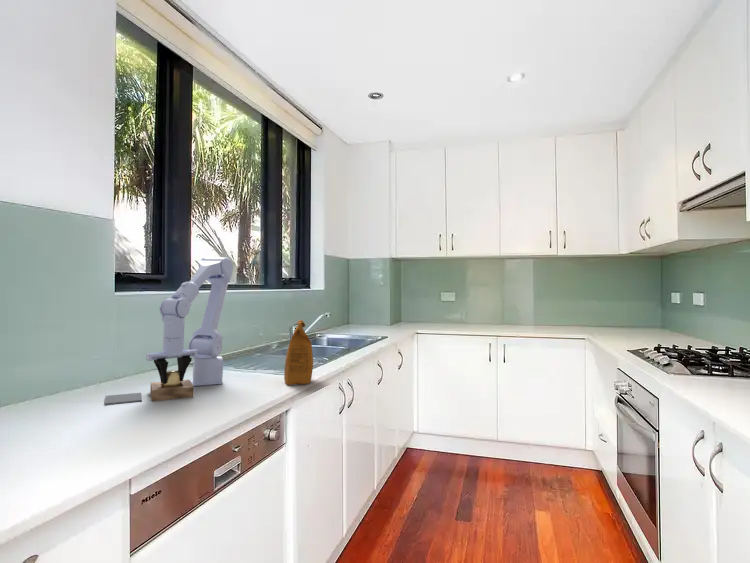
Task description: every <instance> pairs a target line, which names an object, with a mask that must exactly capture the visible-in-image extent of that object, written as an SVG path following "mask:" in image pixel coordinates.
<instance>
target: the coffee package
mask: <svg viewBox="0 0 750 563" xmlns="http://www.w3.org/2000/svg"><path fill="white" fill-rule="evenodd" d="M296 324H297V326H296V328H295V330H294V332H293V334H292V336H291V338H290V340H289V341H290V342H289V344H288V347H287V350H286V355H285V362H284V376H283V378H284V379H283V380H284V383H285V384H286V386H294V385H293V384H297V385H306V384H311V382H312V376H313V370H314V369H313V368H314V356H313V354H314V353H313V345H312V341H311V340H310V338H309V336H308V335H307V333H306V332H305V330H304V328H305V327H306V324H305V322H304V321H303V319H300V320H298V321H296Z"/></svg>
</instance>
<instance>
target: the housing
mask: <svg viewBox="0 0 750 563" xmlns="http://www.w3.org/2000/svg"><path fill="white" fill-rule="evenodd" d="M190 380H191V379H183V381H180V386H179V387H167V388H164V384H163V383H161V381H154V382H150V392H149V393H150V399H151V402H158V401H168V400H178V399H188V398H194V392H195V391H194V390H195V389H194V388H195V386H193V385H192V383H191V382H190Z"/></svg>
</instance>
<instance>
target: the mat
mask: <svg viewBox="0 0 750 563" xmlns="http://www.w3.org/2000/svg"><path fill="white" fill-rule="evenodd" d="M138 402H139V403H140V402H143V396H142V392H131V393H121V394H120V393H119V394H110V395H106V396H105V400H104V406H107V405H109V406H110V405H119V404H127V403H138Z"/></svg>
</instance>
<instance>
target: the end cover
mask: <svg viewBox="0 0 750 563" xmlns="http://www.w3.org/2000/svg"><path fill="white" fill-rule="evenodd" d="M179 386H180V371H178V369H177V370H176V369H175V370H174V369H173V370H167V378H166V384H164V388H167V387H179Z"/></svg>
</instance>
